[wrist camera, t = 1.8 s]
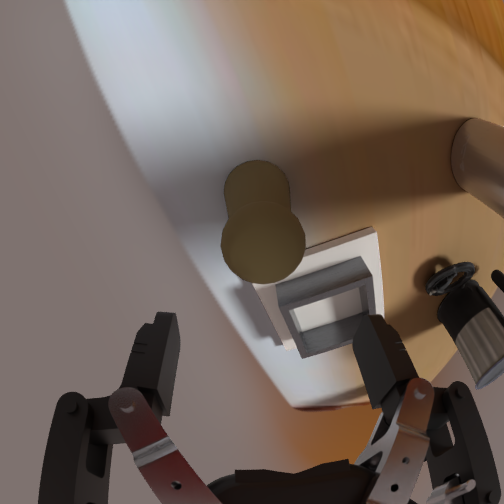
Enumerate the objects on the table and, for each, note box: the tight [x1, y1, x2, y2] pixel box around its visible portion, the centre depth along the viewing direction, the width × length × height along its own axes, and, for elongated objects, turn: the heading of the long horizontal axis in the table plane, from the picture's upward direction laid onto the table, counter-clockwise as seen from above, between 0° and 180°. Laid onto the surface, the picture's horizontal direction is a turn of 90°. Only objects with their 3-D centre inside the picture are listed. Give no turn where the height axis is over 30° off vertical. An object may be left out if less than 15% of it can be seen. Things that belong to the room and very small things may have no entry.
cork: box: [221, 160, 306, 284], centre depth 20 cm, size 6×6×11 cm
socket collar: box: [275, 256, 376, 359], centre depth 29 cm, size 10×10×4 cm
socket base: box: [252, 227, 384, 351], centre depth 31 cm, size 14×14×1 cm
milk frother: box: [425, 262, 504, 389], centre depth 27 cm, size 14×16×15 cm
